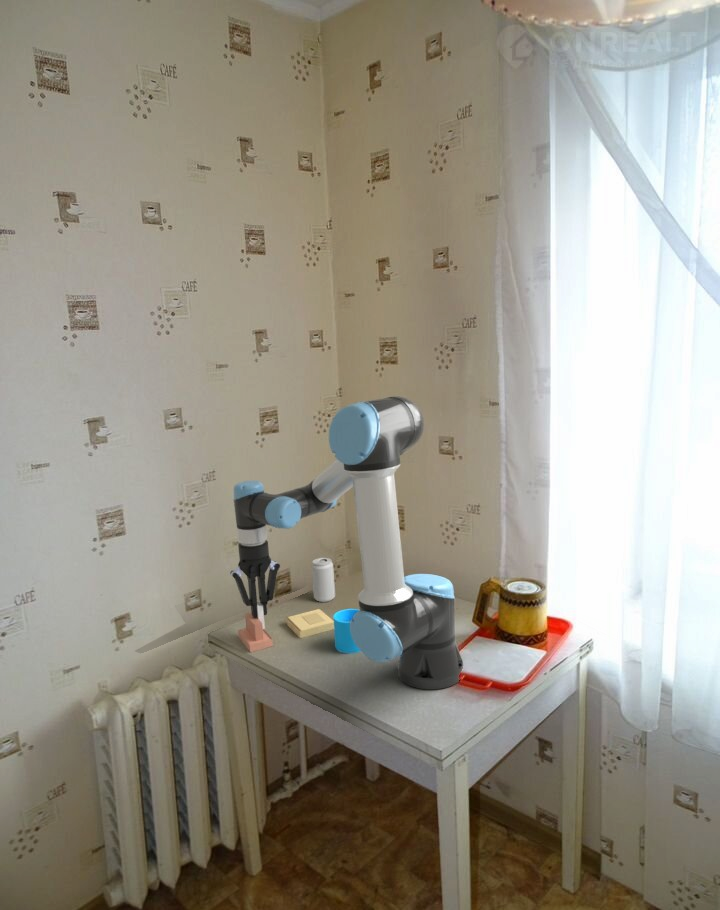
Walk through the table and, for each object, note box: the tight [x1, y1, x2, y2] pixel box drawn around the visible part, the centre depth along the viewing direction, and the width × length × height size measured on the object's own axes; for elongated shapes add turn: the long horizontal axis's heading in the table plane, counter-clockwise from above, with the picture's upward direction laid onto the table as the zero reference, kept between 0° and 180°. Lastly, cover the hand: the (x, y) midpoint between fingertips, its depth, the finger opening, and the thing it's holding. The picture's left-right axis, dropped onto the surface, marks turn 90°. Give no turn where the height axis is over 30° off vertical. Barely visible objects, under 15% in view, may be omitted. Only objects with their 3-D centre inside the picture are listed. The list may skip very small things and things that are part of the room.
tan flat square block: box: [285, 608, 334, 639], centre depth 183 cm, size 10×10×2 cm
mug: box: [333, 608, 361, 654], centre depth 172 cm, size 12×8×8 cm
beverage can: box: [311, 557, 336, 603], centre depth 200 cm, size 6×6×12 cm
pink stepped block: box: [237, 611, 274, 653], centre depth 176 cm, size 10×6×6 cm, turn 27°
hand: (260, 627), depth 176 cm, fingers closed
